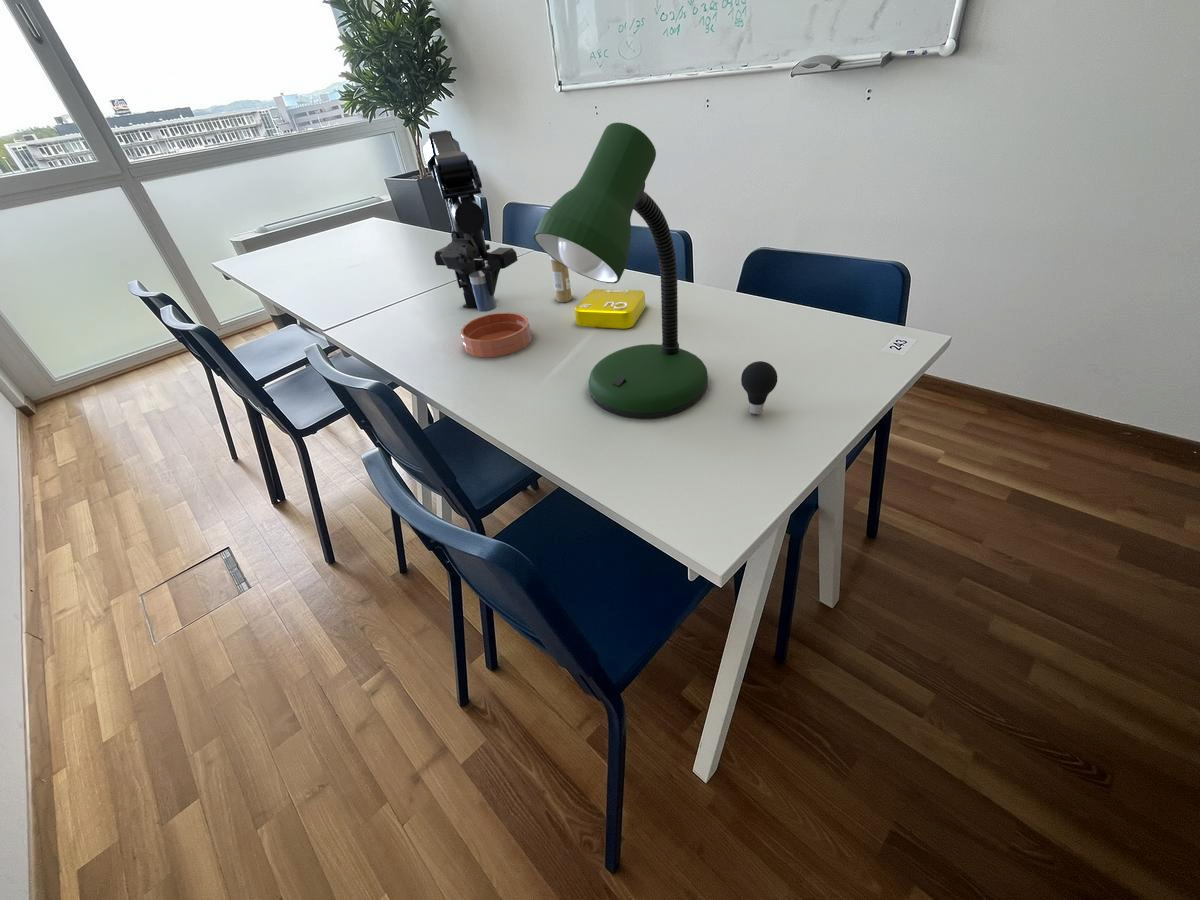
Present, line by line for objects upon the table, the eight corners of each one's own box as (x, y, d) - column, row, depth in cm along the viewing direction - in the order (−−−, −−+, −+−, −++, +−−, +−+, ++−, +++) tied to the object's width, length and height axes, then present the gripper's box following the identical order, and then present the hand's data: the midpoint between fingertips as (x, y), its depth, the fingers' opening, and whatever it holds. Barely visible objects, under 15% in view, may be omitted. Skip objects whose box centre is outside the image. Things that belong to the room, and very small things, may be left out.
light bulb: (734, 407, 93) (737, 357, 87) (766, 403, 93) (771, 353, 87) (744, 425, 88) (748, 373, 82) (777, 420, 88) (784, 369, 82)
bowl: (490, 326, 134) (486, 310, 131) (543, 332, 128) (540, 315, 125) (451, 354, 122) (446, 337, 120) (508, 362, 116) (504, 344, 114)
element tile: (647, 305, 135) (646, 287, 132) (631, 329, 124) (630, 310, 121) (593, 303, 140) (592, 286, 137) (574, 326, 129) (571, 308, 126)
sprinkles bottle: (575, 299, 144) (569, 250, 135) (561, 304, 142) (554, 254, 134) (567, 295, 147) (560, 247, 139) (553, 299, 145) (545, 251, 137)
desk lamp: (624, 456, 84) (597, 141, 57) (536, 412, 98) (481, 140, 71) (729, 379, 101) (746, 105, 74) (641, 350, 114) (629, 110, 87)
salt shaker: (484, 303, 123) (476, 270, 118) (500, 305, 121) (493, 271, 116) (473, 311, 120) (464, 276, 115) (489, 312, 118) (481, 278, 113)
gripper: (408, 232, 107) (429, 305, 116) (481, 234, 100) (498, 311, 109) (441, 218, 115) (459, 287, 124) (511, 219, 108) (525, 292, 117)
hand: (483, 294), depth 118 cm, fingers closed on salt shaker, 4 cm apart
